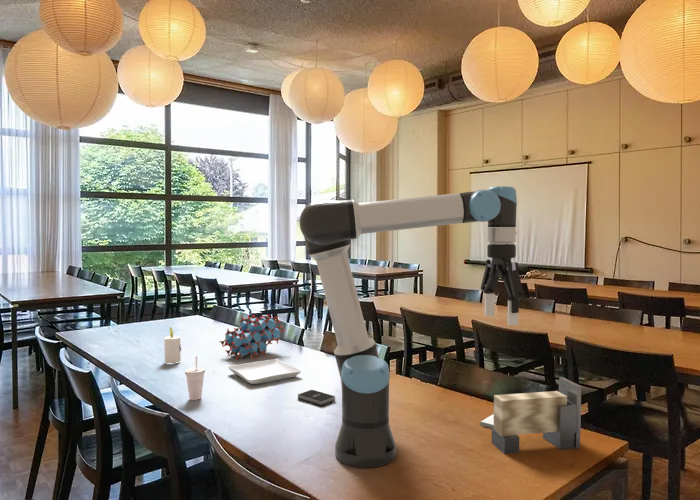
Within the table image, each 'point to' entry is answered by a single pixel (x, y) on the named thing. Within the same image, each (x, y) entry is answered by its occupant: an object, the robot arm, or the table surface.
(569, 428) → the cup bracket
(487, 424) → the external hard drive
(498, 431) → the rail
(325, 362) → the table surface
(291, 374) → the salad plate
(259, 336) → the molecule model
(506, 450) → the block
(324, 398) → the external hard drive
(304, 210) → the robot arm
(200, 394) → the smoothie
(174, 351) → the candle
